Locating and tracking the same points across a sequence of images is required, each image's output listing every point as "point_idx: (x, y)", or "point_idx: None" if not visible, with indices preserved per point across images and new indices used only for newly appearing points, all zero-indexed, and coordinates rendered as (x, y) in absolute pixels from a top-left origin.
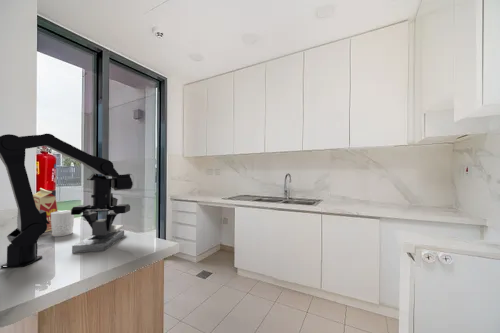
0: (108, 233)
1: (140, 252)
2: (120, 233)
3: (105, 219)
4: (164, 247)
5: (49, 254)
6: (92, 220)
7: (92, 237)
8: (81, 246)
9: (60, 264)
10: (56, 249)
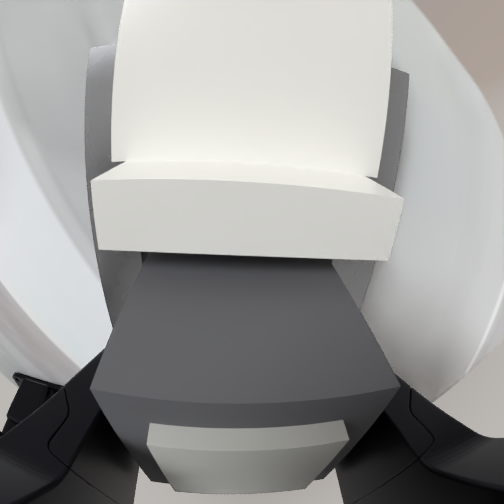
0: None
1: (435, 382)
2: (391, 176)
3: (304, 466)
4: (496, 342)
5: (60, 363)
6: (125, 489)
7: None
8: None
9: None
10: (26, 309)
